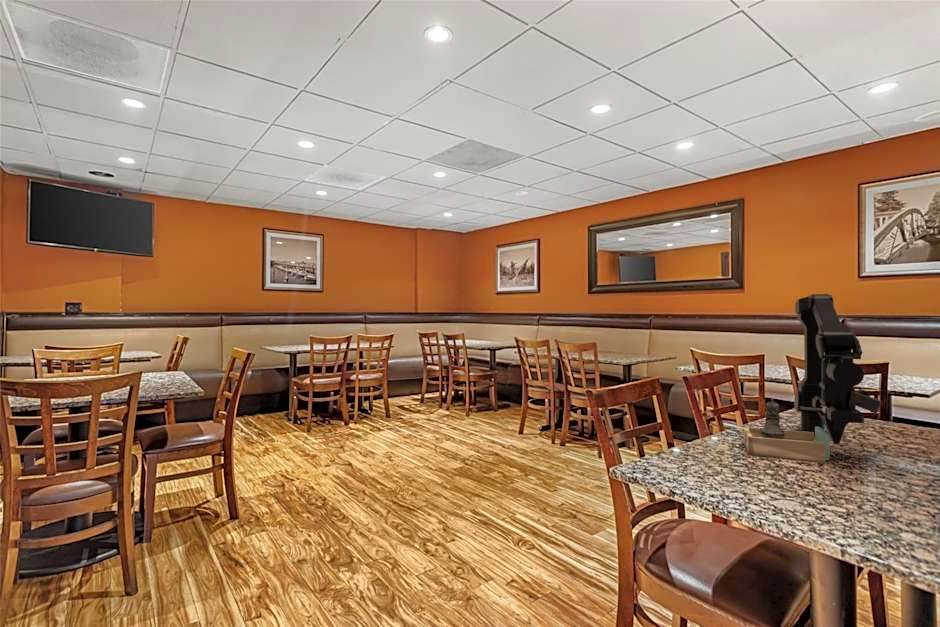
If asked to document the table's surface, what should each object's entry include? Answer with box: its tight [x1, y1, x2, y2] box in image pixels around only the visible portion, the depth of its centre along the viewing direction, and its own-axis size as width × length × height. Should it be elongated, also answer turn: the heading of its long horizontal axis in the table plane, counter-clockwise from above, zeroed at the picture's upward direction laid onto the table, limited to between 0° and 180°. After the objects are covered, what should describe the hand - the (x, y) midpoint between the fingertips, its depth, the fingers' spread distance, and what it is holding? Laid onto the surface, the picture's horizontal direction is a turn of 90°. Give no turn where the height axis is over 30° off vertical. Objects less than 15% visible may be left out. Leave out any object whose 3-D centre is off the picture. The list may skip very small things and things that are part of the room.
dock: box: [742, 426, 827, 463], centre depth 123 cm, size 11×16×4 cm
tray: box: [760, 427, 831, 461], centre depth 122 cm, size 9×16×6 cm, turn 66°
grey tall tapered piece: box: [759, 398, 786, 439], centre depth 123 cm, size 6×6×12 cm
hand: (836, 443), depth 118 cm, fingers closed
